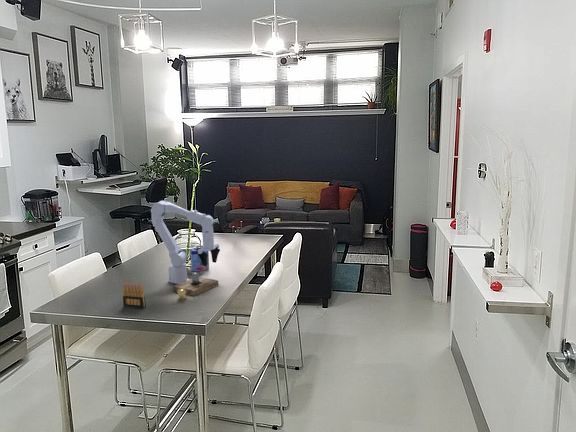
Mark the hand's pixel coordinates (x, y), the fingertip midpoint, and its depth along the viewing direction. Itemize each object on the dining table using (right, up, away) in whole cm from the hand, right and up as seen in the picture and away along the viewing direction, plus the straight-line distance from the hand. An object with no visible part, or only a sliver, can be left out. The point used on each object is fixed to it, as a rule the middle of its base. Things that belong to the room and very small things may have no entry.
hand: (209, 264), depth 245 cm
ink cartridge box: (-9, -6, +24) cm, 26 cm away
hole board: (-5, -11, -9) cm, 15 cm away
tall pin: (-5, -11, -9) cm, 15 cm away
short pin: (-9, -14, -24) cm, 29 cm away
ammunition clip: (-29, -16, -33) cm, 46 cm away
